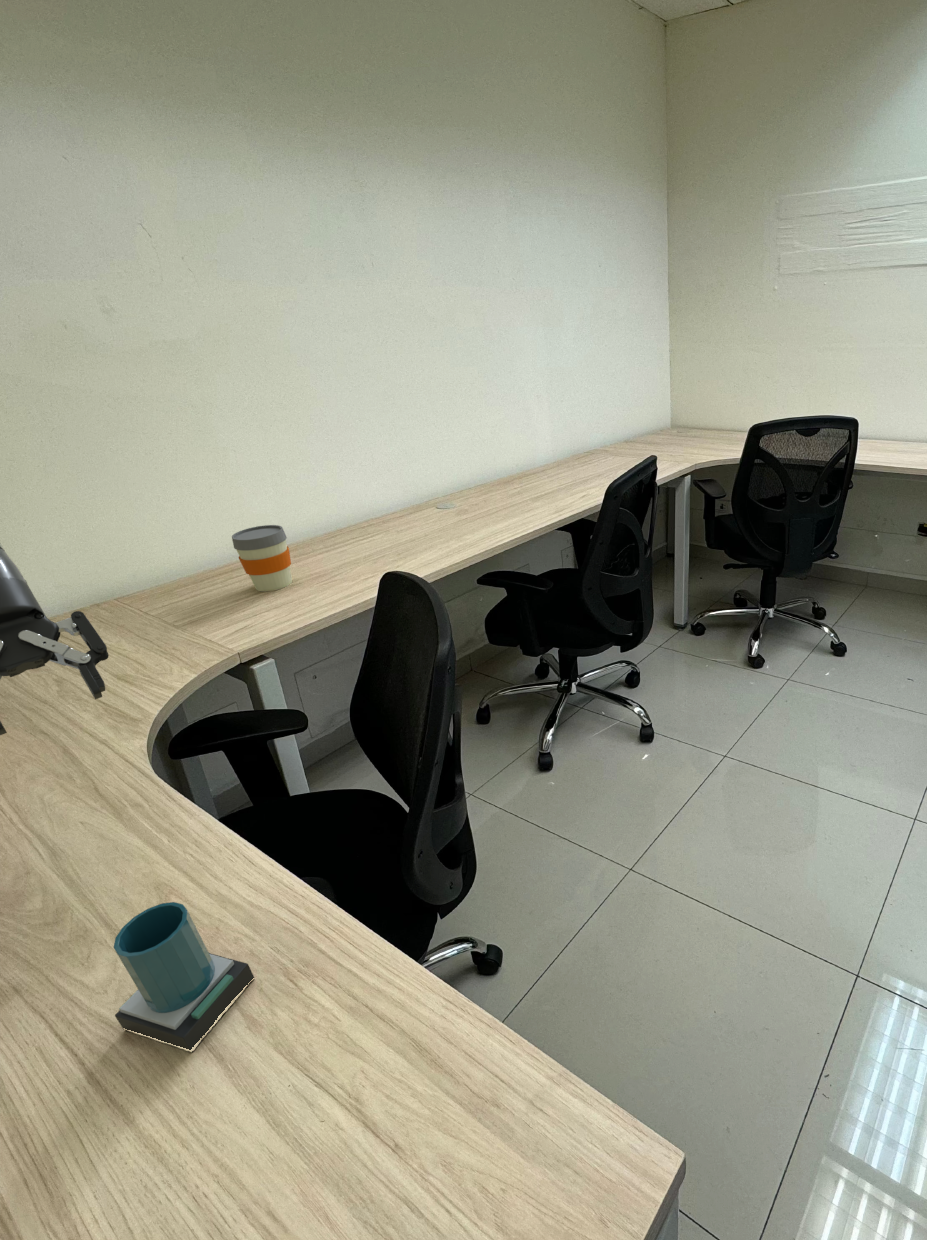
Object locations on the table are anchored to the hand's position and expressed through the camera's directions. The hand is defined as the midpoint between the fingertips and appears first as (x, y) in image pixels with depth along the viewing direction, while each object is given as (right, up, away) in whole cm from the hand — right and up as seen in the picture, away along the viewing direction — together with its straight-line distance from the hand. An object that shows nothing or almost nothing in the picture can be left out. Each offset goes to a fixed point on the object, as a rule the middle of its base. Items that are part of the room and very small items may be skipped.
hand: (52, 713), depth 71 cm
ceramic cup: (+17, -27, -4) cm, 33 cm away
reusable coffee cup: (-33, +18, +104) cm, 111 cm away
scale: (+17, -30, -3) cm, 35 cm away
